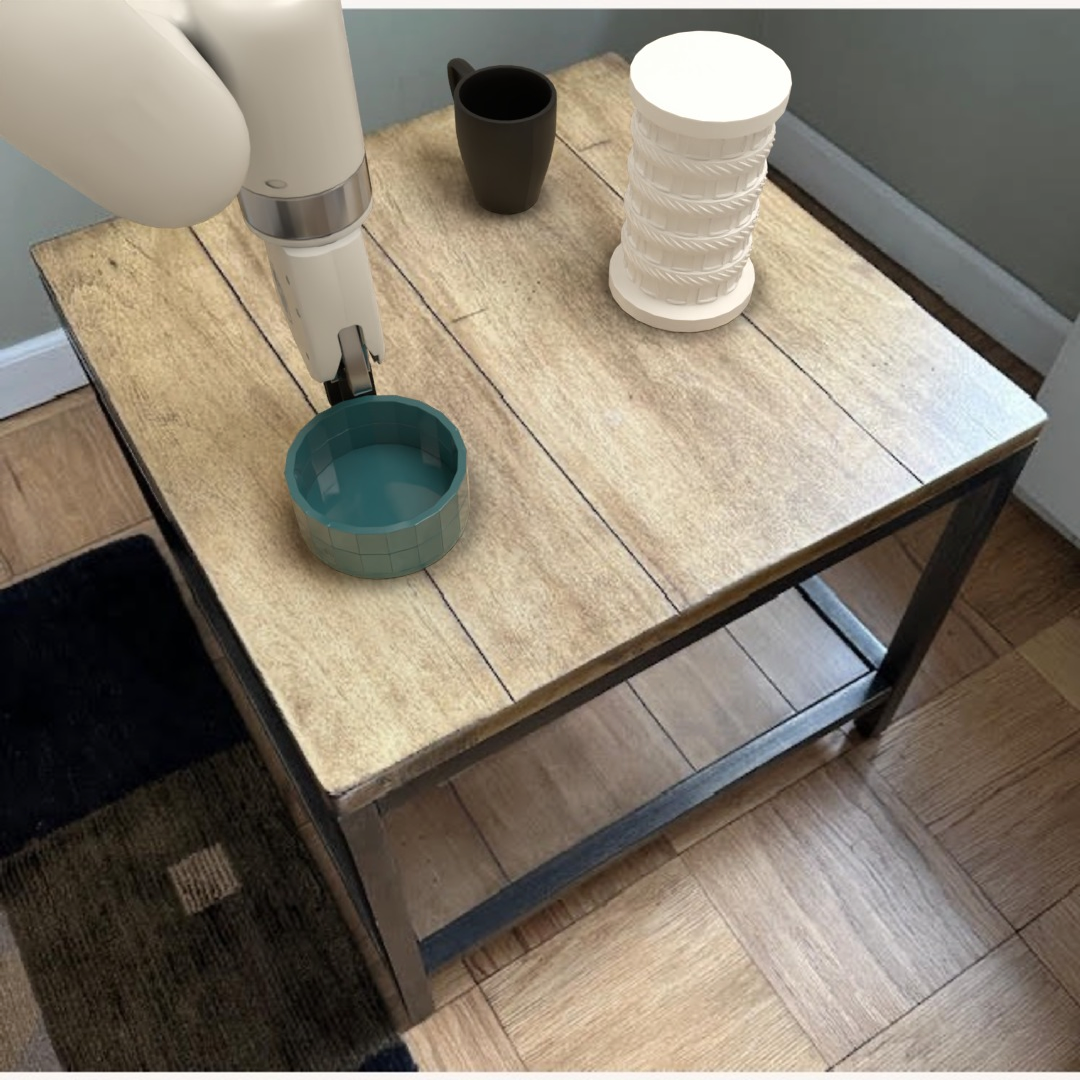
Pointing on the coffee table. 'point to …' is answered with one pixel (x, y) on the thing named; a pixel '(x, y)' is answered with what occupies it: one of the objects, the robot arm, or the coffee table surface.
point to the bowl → (379, 485)
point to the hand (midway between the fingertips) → (353, 402)
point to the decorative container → (696, 177)
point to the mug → (503, 131)
